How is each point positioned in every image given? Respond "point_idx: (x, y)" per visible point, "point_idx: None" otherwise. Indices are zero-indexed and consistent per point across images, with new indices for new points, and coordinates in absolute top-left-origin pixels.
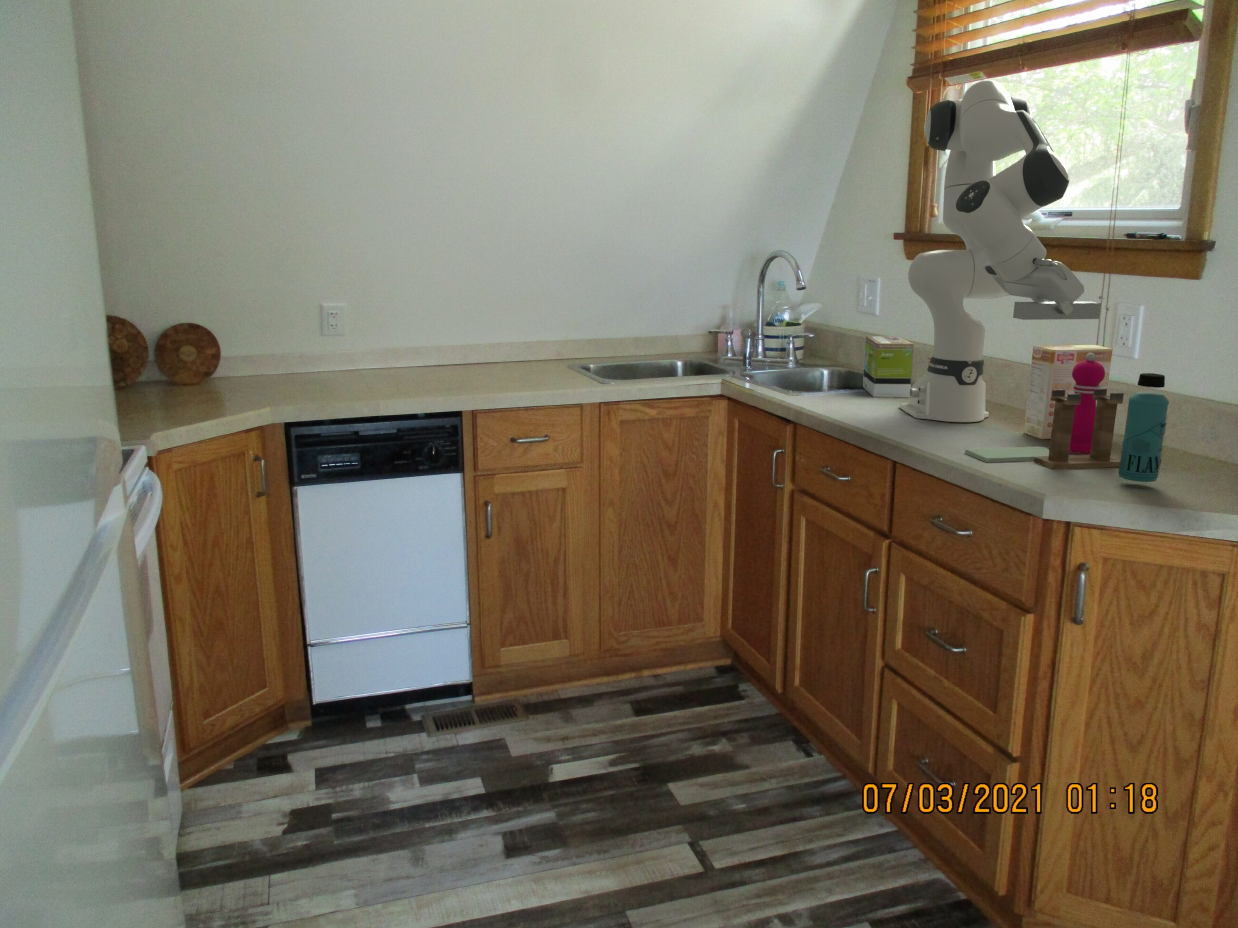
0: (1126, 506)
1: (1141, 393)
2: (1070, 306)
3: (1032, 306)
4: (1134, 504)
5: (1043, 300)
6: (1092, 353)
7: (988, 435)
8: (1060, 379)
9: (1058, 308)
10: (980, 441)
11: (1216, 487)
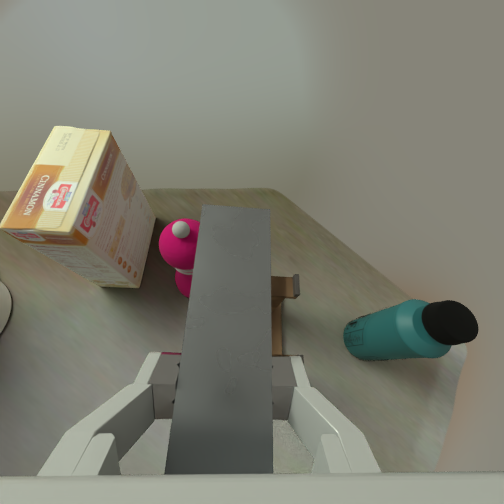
0: (439, 419)
1: (432, 338)
2: (305, 372)
3: None
4: (430, 402)
5: (136, 420)
6: (182, 225)
7: (87, 344)
8: (109, 239)
9: (275, 418)
10: (113, 383)
11: (360, 266)
